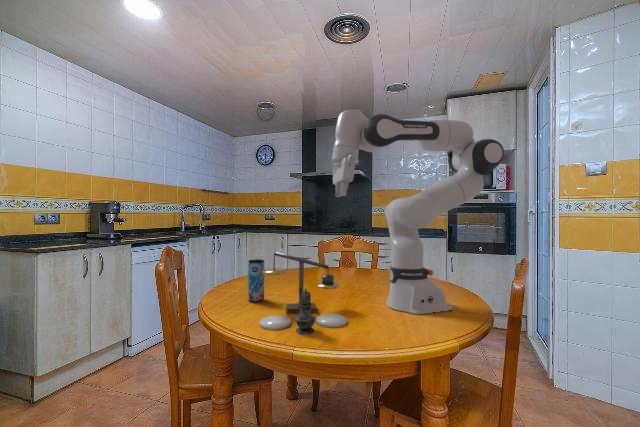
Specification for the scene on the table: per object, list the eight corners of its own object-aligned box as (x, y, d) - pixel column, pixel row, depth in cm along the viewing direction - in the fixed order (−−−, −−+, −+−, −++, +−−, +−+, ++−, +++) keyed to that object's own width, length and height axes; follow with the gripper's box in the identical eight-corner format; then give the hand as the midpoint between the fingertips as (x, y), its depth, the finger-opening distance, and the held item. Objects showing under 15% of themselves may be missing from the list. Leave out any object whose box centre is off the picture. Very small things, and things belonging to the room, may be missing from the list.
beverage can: (246, 302, 112) (246, 261, 112) (250, 298, 118) (250, 259, 118) (262, 302, 112) (262, 262, 112) (265, 298, 118) (265, 259, 118)
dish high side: (289, 318, 96) (289, 315, 96) (290, 329, 88) (290, 325, 87) (260, 319, 95) (260, 316, 95) (258, 330, 86) (258, 326, 86)
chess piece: (313, 335, 83) (313, 291, 83) (292, 333, 84) (292, 290, 84) (317, 327, 89) (317, 286, 89) (297, 326, 90) (298, 285, 90)
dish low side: (342, 316, 99) (343, 313, 99) (349, 327, 90) (349, 323, 90) (315, 317, 97) (315, 314, 97) (318, 328, 89) (318, 324, 89)
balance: (336, 305, 110) (337, 249, 110) (341, 312, 102) (342, 252, 102) (262, 307, 107) (262, 250, 107) (260, 315, 99) (261, 253, 99)
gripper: (361, 152, 96) (356, 196, 96) (348, 162, 116) (343, 198, 116) (341, 149, 95) (336, 194, 95) (331, 160, 116) (327, 196, 116)
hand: (340, 196), depth 106 cm, fingers open, 8 cm apart
